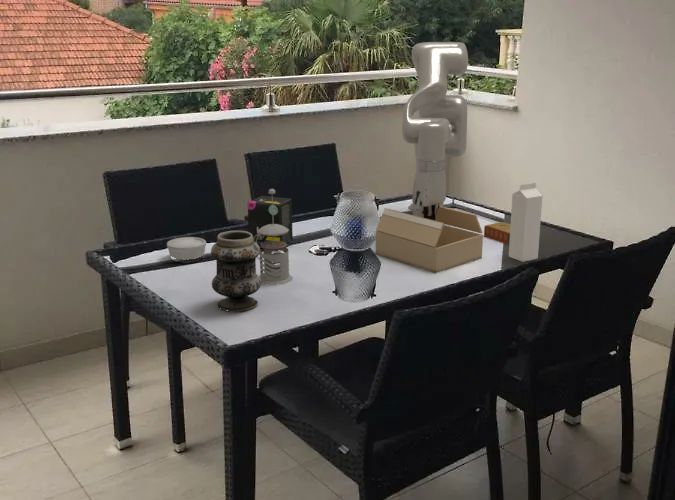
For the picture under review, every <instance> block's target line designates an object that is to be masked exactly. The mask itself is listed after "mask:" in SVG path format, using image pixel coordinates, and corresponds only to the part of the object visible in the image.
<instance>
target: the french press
mask: <svg viewBox="0 0 675 500" xmlns="http://www.w3.org/2000/svg"><path fill="white" fill-rule="evenodd" d="M268 194H269V195H271V197H272V216H273V197H274V196H273V195H275V194H276V189H274V188H270V189H268ZM288 230H289V229H287V228H286V227H284V226H282V225H278V224H274V222H273V224H268V225H266V226H263V227H261V228H260V229H259V230H258V232H259V233H260V234H262V235H267V236H273V241H268V242H266V243H265V242H264V243H262V244H261V248H263V249H260V253H259V255H258V256H257V257H256V259H258V260H259V270H260V271H259V272H260V275H258V276H259V277H260V279H261V283H262V284H263V283H264V284H263V285H265V284H269V285H268V286H278V285H277V284H281V285H286V284H289V283H291V282H292V281H293V280H292V278H293V279H294V277H293V276H292V275H291V274H290V268H289V267H290V264H289V263H290V261H289V260H290V259H289V248H288V246H287V244H286V243H285V242H279V241H274V236H279V235H284V234H286V233H288ZM260 234H257V235H258V236H259V235H260ZM257 235H256V236H257ZM256 236H255V237H256ZM258 236H257V239H258ZM255 237H254V238H255ZM254 238H253V239H254ZM263 238H264V236H263ZM257 239H256V243H257ZM260 239H262V238H261V235H260ZM275 250H280V251H275ZM274 251H275V252H274ZM281 251H282V252H281ZM290 281H291V282H290ZM288 282H289V283H288ZM285 283H286V284H285ZM262 284H261V285H262Z"/></svg>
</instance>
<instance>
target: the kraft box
mask: <svg viewBox="0 0 675 500" xmlns="http://www.w3.org/2000/svg"><path fill="white" fill-rule="evenodd" d="M483 241H484V234H481V233H477V232H473V231H469V230H466V229H462V228H458V227H454V226H450V225H446V224H444V227H443V229H442V232H441V235H440V237H439V240H438V242H437V245H436V247H433V246H430V245H426V244H423V243H419V242H416V241H412V240H409V239H405V238H402V237H398V236H395V235H391V234H388V233H384V232H381V231H377V230H375V254H376V255H378V256H382V257H385V258H388V259H390V260H394V261H398V262H400V263H404V264H406V265H409V266H413V267H415V268H420V269H423V270H425V271H429V272H432V273H434V274H438V273H441V272H442V271H443V272H444V271H447V270H449V269H451V268H452V269H453V268H455V267H458V266H461V265H464V264H467V263H471V262H473V261H477V260H479V259H483V245H484V244H483Z"/></svg>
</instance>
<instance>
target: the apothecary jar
mask: <svg viewBox="0 0 675 500" xmlns="http://www.w3.org/2000/svg"><path fill="white" fill-rule="evenodd" d="M259 253H260V247H259V245H258V244H257V243H256V242H255V241H254V239H253V235H252V234H251V233H249V232H248V231H245V230H229V231H223V232H220V233H219V234H217V241H216V243H213V245H212V247H211V249H210V254H211V256H212V258H213V259H214V260H215V262H216V275H215V276H214V277H213V278H212V280H211V288H212V289H213V290H214V292H215V293H216V294H219V295H220V296H222V297H225V298H223V299H221V300H219V301H218V302H217V308H218V309H220V308H221V309H224V310H228V311H227V312H230V311H239V312H246V311H249V309H250V310H253V309H255V308H256V307H258V304H259V303H258V300H256V299H255V298H254V297H252V296H251V295H254V294H255V293H256V292H257V291H259V290H260V288H261V286H262V284H261V279H260V277H259V276H260V275H258V273H257V263H256V260H257V257H259V256H260V255H259ZM254 307H255V308H254ZM252 308H253V309H252ZM221 309H220V310H221ZM224 310H223V311H224ZM245 310H246V311H245Z"/></svg>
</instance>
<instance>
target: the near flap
mask: <svg viewBox="0 0 675 500" xmlns="http://www.w3.org/2000/svg"><path fill="white" fill-rule="evenodd" d="M444 225H446V224H445V223H442V222H438V221H434V220H430V219H426V218H422V217H418V216H414V215H412V214H410V213H406V212H402V211H398V210H394V209H391V208H387V207H384V209H383V212H382V214H381V217H380V219H379V222H378V224H377V227H376V229H375V231H381V232H384V233H388V234H391V235H395V236H398V237H402V238H405V239H409V240H412V241H416V242H419V243H423V244H426V245H430V246H433V247H436V245H437V242H438V240H439V237H440V235H441V232H442V229H443V227H444Z"/></svg>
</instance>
